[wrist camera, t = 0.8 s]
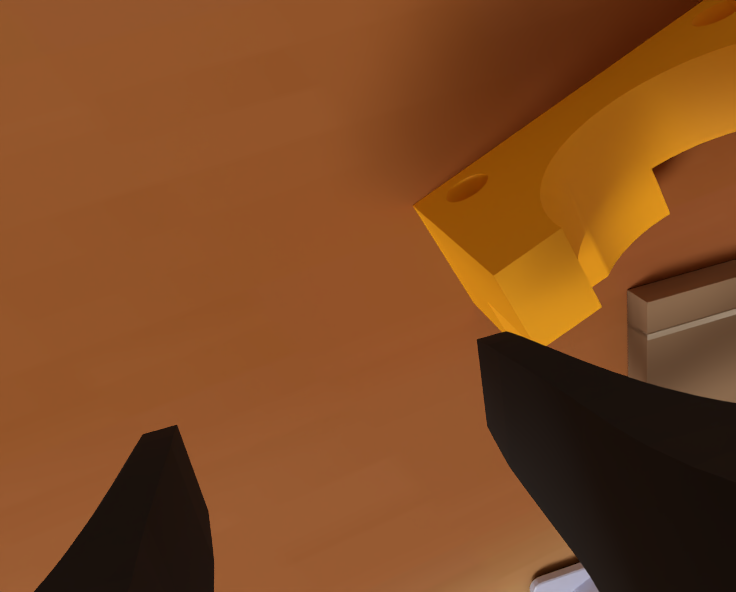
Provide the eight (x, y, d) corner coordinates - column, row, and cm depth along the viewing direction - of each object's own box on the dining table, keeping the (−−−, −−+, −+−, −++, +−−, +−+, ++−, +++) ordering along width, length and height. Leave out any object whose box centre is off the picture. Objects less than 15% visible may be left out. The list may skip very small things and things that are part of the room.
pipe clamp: (472, 301, 23) (565, 396, 18) (411, 204, 22) (493, 275, 16) (758, 101, 23) (947, 132, 17) (722, -16, 21) (922, -25, 15)
